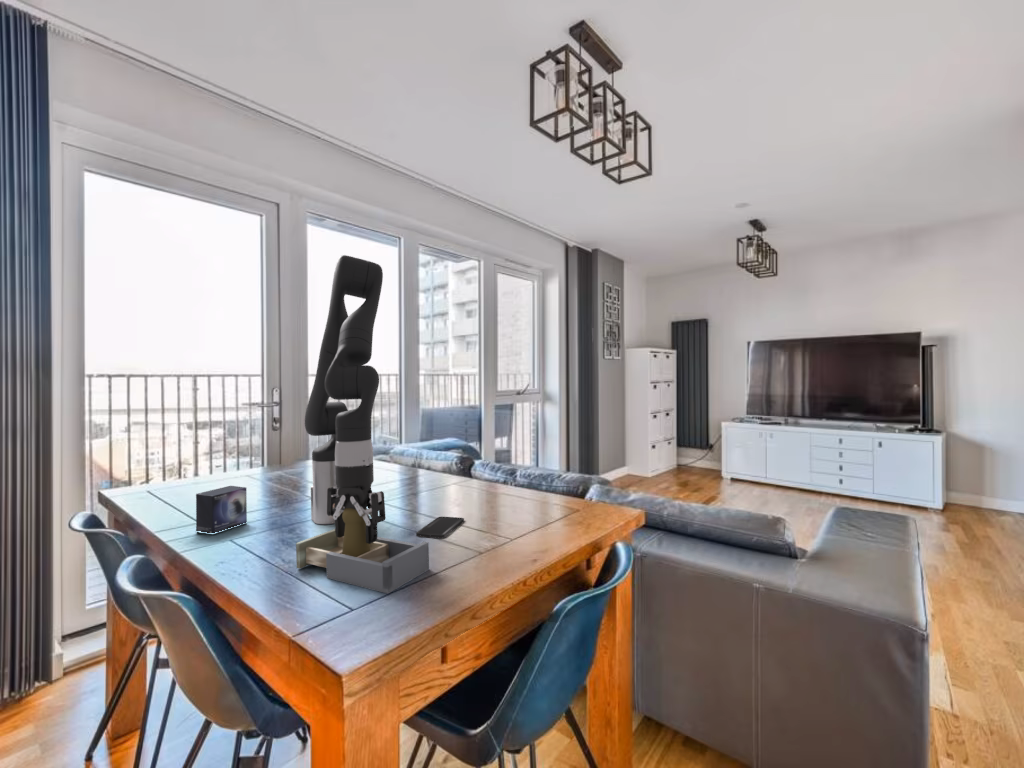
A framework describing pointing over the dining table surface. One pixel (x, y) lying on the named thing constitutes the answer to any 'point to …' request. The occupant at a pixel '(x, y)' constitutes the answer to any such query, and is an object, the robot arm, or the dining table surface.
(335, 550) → the drawer
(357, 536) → the olive tall rounded piece
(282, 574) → the dining table surface
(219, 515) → the small box
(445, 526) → the phone
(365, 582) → the grey open box
